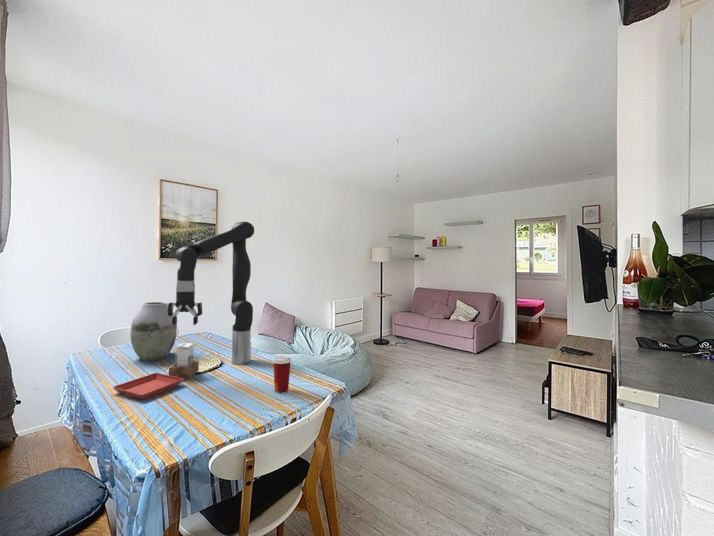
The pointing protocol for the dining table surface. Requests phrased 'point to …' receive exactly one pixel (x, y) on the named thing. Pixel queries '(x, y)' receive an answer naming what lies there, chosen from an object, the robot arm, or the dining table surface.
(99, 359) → the dining table surface
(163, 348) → the vase
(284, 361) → the paper cup
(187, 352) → the syrup box
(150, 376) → the plant saucer
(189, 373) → the holder
